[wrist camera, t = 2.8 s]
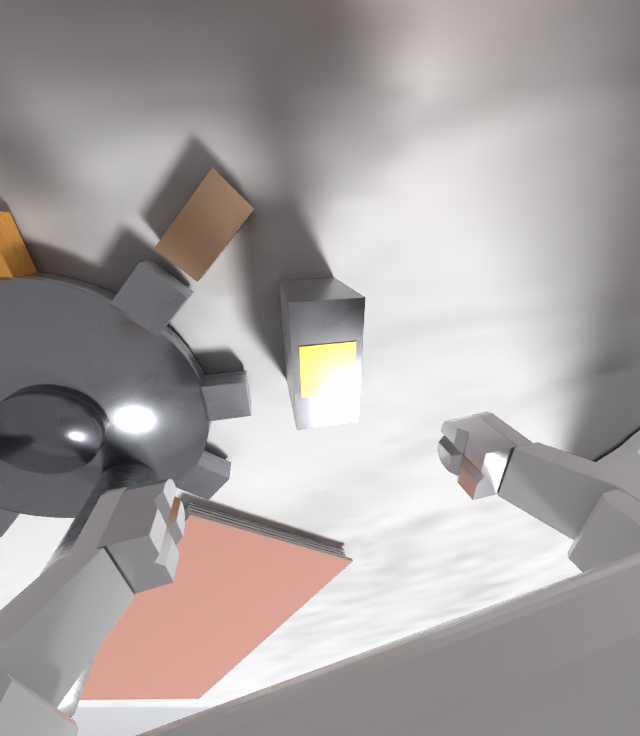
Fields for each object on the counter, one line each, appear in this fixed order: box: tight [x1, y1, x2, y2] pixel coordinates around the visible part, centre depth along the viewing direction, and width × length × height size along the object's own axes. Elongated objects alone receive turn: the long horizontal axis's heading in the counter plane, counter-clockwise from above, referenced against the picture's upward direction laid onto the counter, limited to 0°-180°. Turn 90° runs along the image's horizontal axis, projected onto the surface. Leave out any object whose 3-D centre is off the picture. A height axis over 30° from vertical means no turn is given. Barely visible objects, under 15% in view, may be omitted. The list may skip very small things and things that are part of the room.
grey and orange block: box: [279, 278, 365, 430], centre depth 14 cm, size 3×6×5 cm, turn 1°
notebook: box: [80, 503, 352, 700], centre depth 26 cm, size 27×17×2 cm, turn 141°
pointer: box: [154, 167, 254, 282], centre depth 12 cm, size 4×2×2 cm, turn 136°
